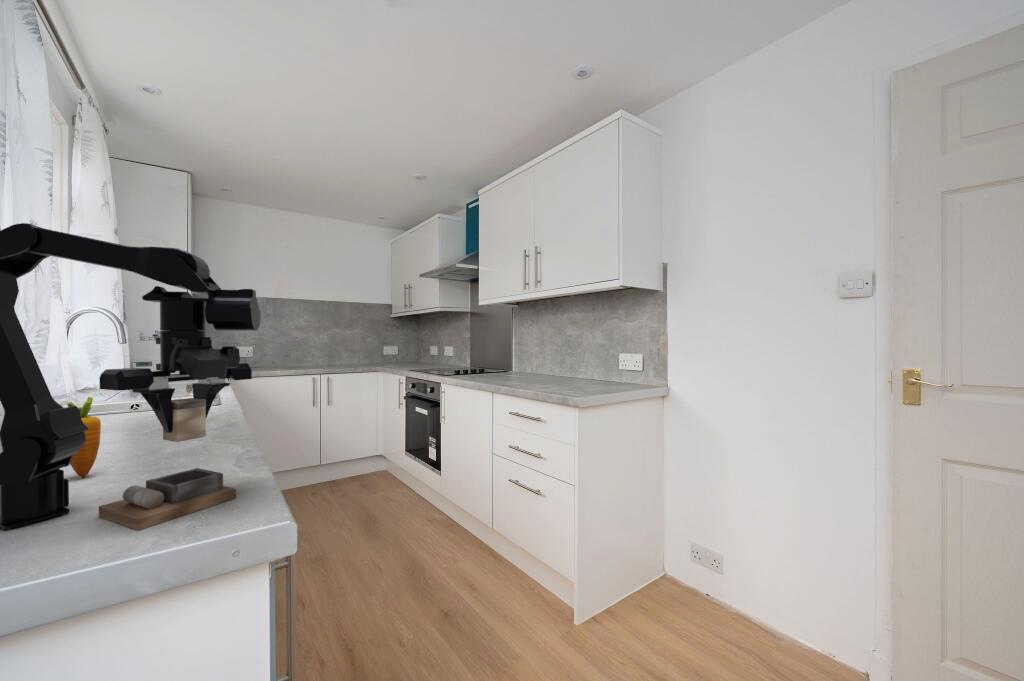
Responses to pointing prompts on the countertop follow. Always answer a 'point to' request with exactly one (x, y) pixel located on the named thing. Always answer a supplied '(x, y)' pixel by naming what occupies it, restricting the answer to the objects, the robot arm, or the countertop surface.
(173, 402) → the beige banded block
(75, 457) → the carrot
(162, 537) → the countertop surface
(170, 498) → the base
